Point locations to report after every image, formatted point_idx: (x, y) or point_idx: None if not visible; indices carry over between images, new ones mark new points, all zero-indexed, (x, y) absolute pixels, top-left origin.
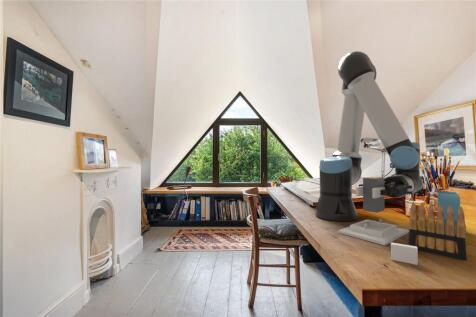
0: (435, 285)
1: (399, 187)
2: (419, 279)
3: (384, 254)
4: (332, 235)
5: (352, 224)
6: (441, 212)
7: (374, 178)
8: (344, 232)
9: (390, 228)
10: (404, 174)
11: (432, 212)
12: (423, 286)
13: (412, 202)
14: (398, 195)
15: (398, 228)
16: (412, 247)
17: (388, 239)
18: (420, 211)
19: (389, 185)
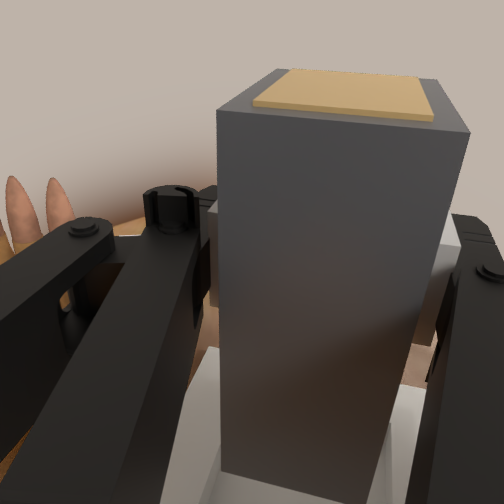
0: (116, 226)
1: (3, 276)
2: (140, 231)
3: (207, 292)
4: (431, 356)
5: (411, 431)
6: None
7: (306, 72)
8: (405, 387)
9: (180, 483)
10: None
11: None
12: (139, 218)
13: (57, 182)
14: (67, 314)
15: None
16: (131, 235)
17: (195, 388)
18: (35, 217)
19: (153, 192)
